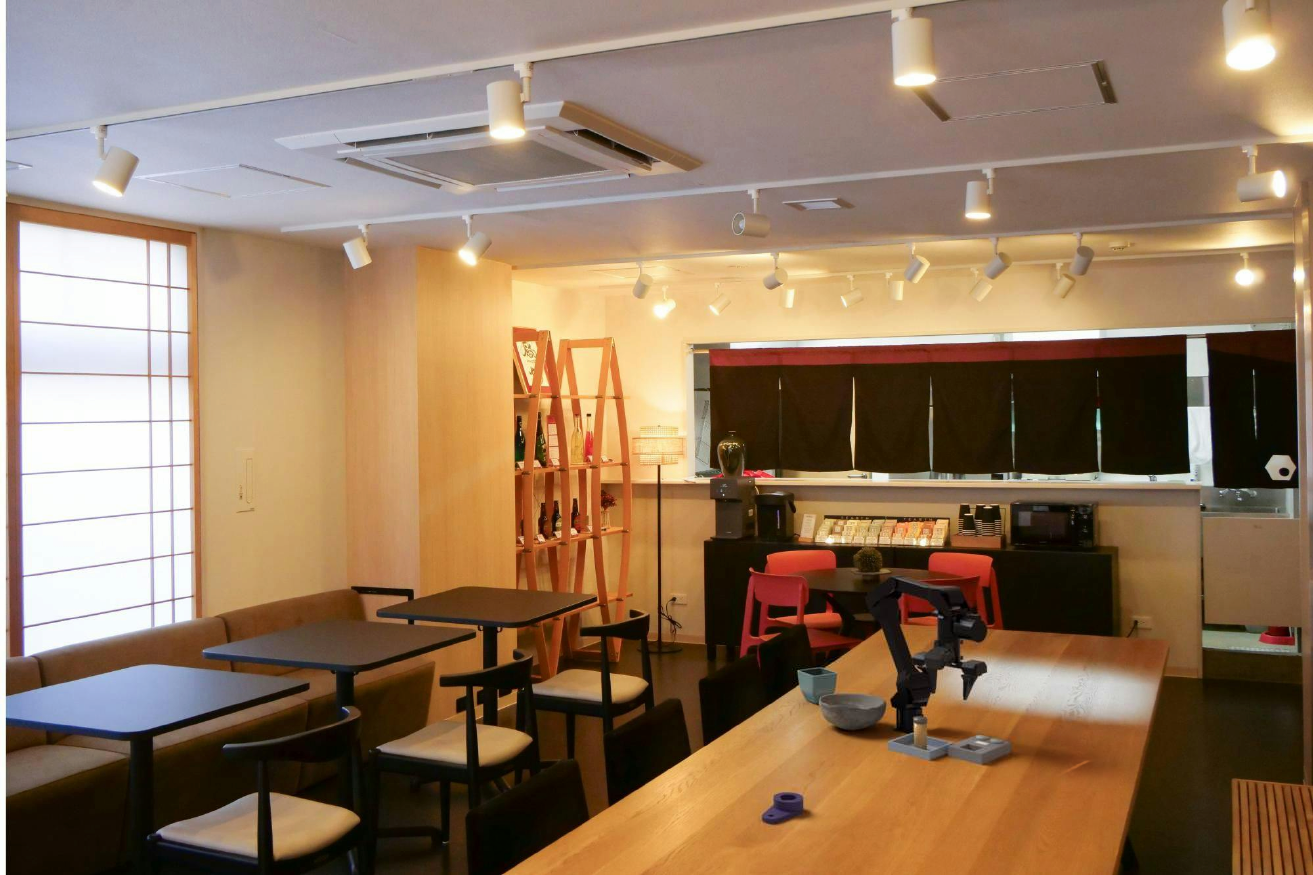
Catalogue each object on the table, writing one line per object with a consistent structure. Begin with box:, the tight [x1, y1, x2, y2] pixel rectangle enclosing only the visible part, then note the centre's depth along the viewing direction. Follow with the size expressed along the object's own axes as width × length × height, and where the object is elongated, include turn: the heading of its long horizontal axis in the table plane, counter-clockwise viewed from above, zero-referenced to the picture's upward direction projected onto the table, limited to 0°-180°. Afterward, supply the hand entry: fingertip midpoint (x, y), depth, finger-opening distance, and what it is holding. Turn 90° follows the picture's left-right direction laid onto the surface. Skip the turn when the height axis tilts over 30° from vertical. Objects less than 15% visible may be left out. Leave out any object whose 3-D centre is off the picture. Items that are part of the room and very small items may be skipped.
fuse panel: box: [947, 734, 1012, 766], centre depth 261 cm, size 9×14×4 cm, turn 133°
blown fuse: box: [913, 716, 928, 750], centre depth 265 cm, size 3×3×8 cm
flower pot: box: [797, 667, 838, 705], centre depth 315 cm, size 9×9×9 cm
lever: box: [761, 791, 805, 825], centre depth 223 cm, size 12×6×3 cm, turn 142°
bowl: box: [818, 692, 887, 731], centre depth 287 cm, size 18×18×8 cm
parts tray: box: [887, 733, 955, 761], centre depth 265 cm, size 12×11×2 cm
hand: (949, 696), depth 272 cm, fingers open, 9 cm apart
